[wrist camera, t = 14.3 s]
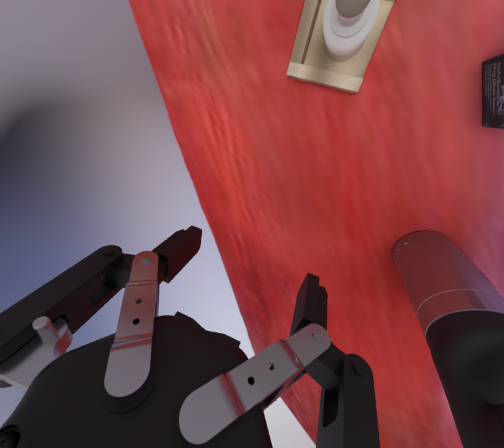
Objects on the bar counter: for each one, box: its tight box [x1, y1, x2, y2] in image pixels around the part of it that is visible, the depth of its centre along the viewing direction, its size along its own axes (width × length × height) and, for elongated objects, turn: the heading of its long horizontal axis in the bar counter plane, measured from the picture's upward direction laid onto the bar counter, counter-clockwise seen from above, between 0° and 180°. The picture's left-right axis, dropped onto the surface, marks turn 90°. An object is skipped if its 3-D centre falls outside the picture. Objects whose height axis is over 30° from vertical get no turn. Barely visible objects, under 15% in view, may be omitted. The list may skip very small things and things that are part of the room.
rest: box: [287, 0, 395, 94], centre depth 27 cm, size 10×11×4 cm
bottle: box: [323, 0, 380, 62], centre depth 22 cm, size 5×5×14 cm
